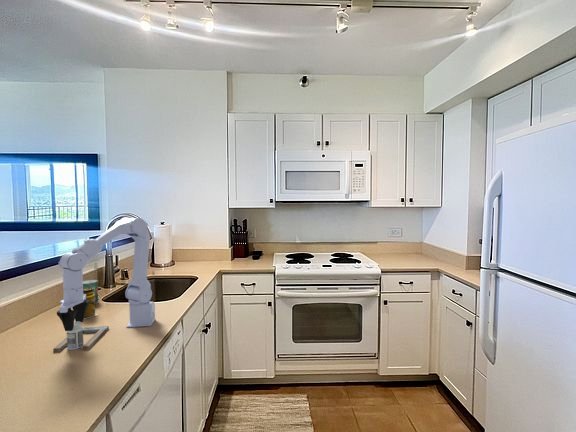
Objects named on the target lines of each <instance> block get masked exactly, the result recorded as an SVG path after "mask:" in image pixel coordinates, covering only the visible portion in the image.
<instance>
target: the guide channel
mask: <svg viewBox="0 0 576 432" xmlns="http://www.w3.org/2000/svg"><path fill="white" fill-rule="evenodd" d="M105 333H107V331H106V329H100V330H99V331H98V332H97V333H94V335H93V336H91V337H90V338H89V340H87V341H86V342H85V344H84V343H83V346H82V347H81V349H82V351H87V350H90V349H91V348H92V347H93V346H94V345H95V344H96V343H97V342H98V341H99V340H100V338H102V337H103V336H104V334H105ZM65 347H67V337H65V338H64V339H63V340H62V341H60V343H58V344H57V345H56V346H54V347H53V348H52V350H53V352H52V353H60V352H61V351H62V350H63V349H65Z"/></svg>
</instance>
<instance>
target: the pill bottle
mask: <svg viewBox="0 0 576 432" xmlns="http://www.w3.org/2000/svg"><path fill="white" fill-rule="evenodd" d="M83 328H84V327H83V326H82V322H80V321H74V327H73V330H72V331H66V338H67V346H66V347H67V350H71V351H73V350H78V349H80V348H81V349H82V346H83V345H84V333H83Z"/></svg>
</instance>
